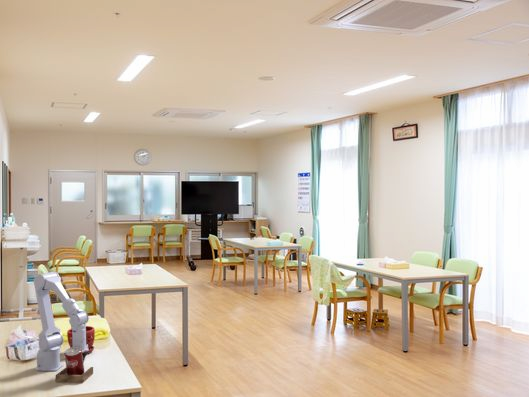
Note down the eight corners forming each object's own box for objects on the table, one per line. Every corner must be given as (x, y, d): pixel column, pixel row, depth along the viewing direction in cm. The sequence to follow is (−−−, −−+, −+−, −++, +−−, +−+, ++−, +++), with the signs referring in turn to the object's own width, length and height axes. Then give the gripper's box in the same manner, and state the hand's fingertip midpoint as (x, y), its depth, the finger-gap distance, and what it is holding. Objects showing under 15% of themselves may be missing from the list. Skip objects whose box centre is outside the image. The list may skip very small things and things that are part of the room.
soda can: (75, 381, 238) (72, 357, 235) (63, 376, 241) (60, 353, 238) (88, 372, 244) (85, 349, 241) (76, 368, 248) (73, 344, 244)
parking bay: (55, 382, 237) (55, 375, 236) (67, 372, 248) (67, 366, 248) (82, 382, 236) (82, 375, 235) (93, 373, 247) (93, 367, 247)
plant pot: (84, 347, 287) (84, 324, 287) (100, 351, 279) (100, 328, 279) (62, 353, 276) (61, 329, 276) (78, 358, 269) (77, 333, 268)
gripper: (81, 344, 239) (81, 375, 239) (94, 334, 253) (94, 364, 253) (65, 343, 239) (66, 374, 240) (79, 334, 254) (79, 364, 254)
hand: (79, 369), depth 247 cm, fingers closed, pressing on soda can
